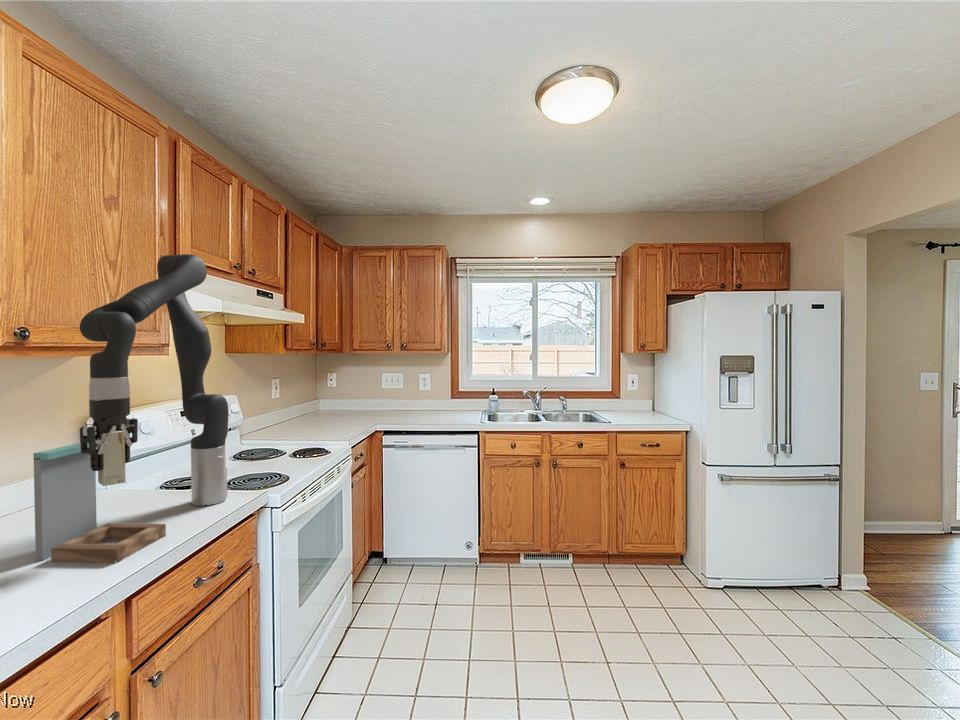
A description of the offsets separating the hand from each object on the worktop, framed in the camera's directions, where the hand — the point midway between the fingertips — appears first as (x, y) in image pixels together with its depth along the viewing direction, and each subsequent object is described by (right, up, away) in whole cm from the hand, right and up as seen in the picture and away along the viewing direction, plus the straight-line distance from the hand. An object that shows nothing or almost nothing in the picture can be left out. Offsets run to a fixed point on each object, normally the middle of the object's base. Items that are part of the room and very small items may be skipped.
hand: (111, 466), depth 110 cm
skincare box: (0, -4, 0) cm, 4 cm away
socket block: (0, -19, 0) cm, 19 cm away
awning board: (-11, -19, +1) cm, 22 cm away
